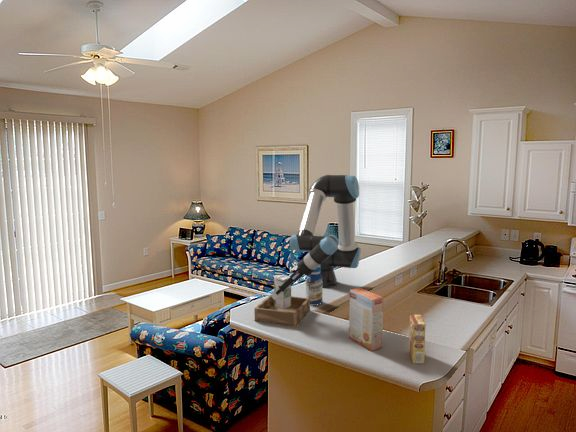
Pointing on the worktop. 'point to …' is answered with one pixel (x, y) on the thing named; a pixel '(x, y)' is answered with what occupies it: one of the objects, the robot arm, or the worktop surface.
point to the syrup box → (285, 297)
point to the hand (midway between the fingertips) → (275, 294)
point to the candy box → (417, 338)
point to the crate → (282, 311)
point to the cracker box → (366, 318)
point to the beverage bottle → (314, 287)
